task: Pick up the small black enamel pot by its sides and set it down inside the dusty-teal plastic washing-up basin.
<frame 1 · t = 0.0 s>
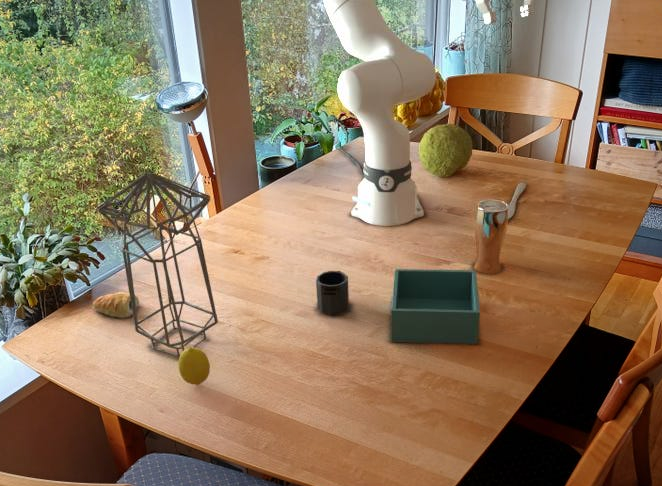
hand: (509, 19, 137), 52 cm above the table, tool tilted 20°, fingers open, 8 cm apart
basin: (433, 320, 150), on the table
pastry: (118, 311, 158), on the table
beer glass: (487, 268, 168), on the table
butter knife: (513, 203, 196), on the table
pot: (333, 307, 156), on the table
lemon: (197, 385, 136), on the table
fruit: (444, 173, 216), on the table
geometric lantern: (180, 344, 147), on the table
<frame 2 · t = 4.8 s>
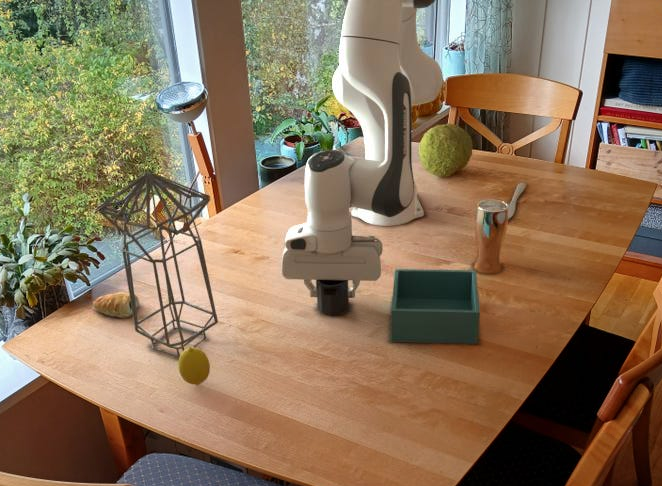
hand: (332, 296, 154), 3 cm above the table, tool pointing down, fingers closed on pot, 6 cm apart
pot: (333, 307, 156), on the table, touching gripper
everything else where it was.
when the fingers open (3 cm above the table, at t = 12.3 s): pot stays where it is, resting on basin.
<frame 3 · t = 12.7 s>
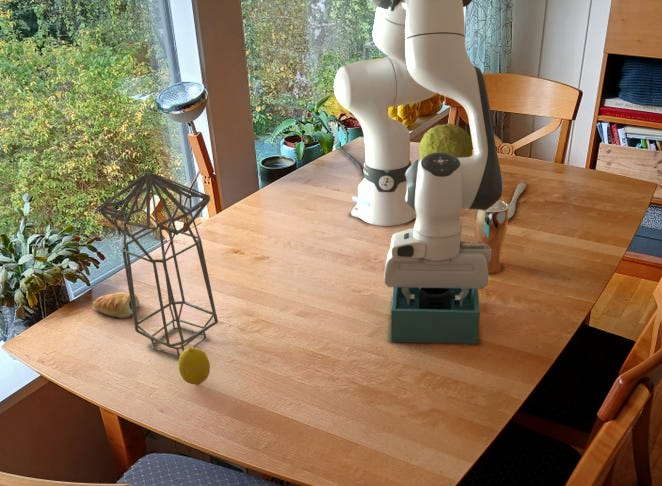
hand: (434, 304, 148), 4 cm above the table, tool pointing down, fingers open, 8 cm apart
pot: (434, 317, 150), point 1 cm above the table, touching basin
everything else where it was.
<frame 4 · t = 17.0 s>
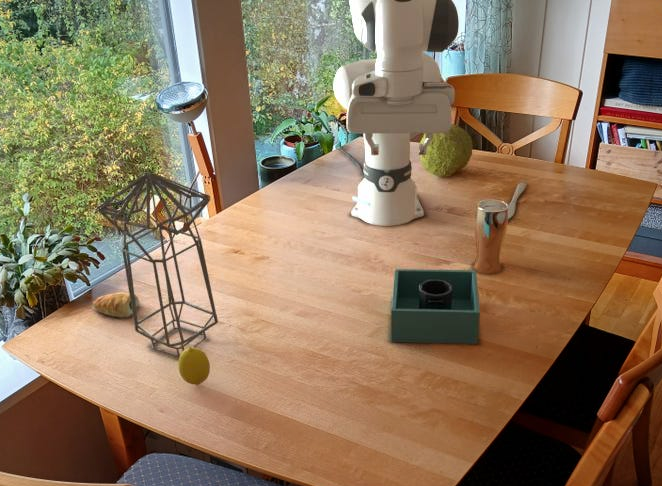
hand: (398, 154, 146), 29 cm above the table, tool pointing down, fingers open, 8 cm apart
nothing on the table moved.
at the end: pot inside the target area in the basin (0.1 cm from its centre), point 0.6 cm above the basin's base; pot tilted 0°; the gripper is holding nothing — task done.
